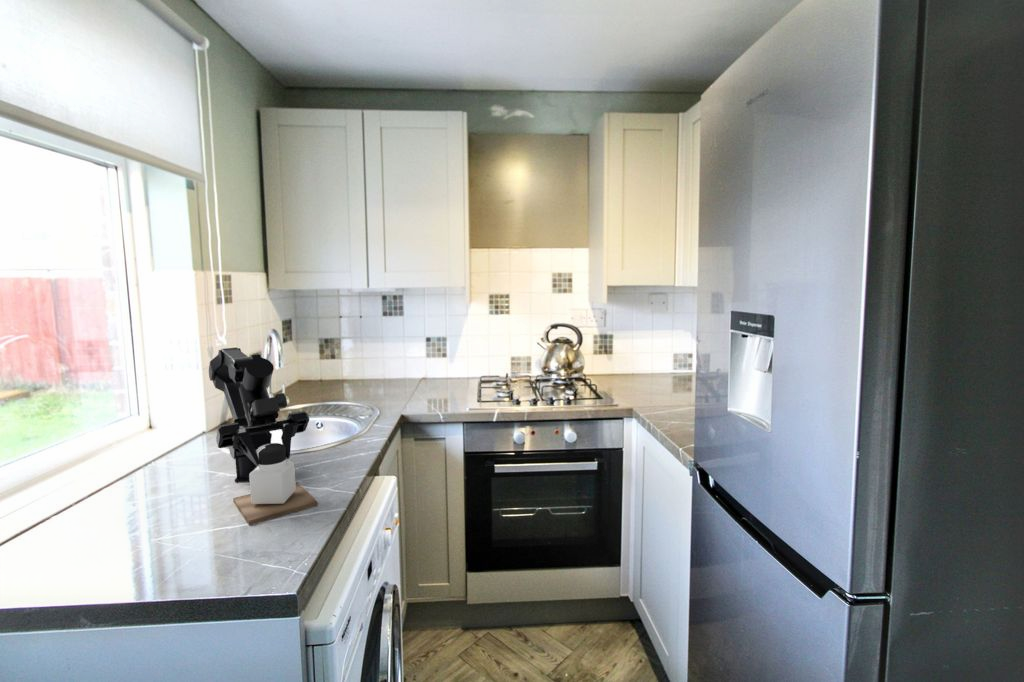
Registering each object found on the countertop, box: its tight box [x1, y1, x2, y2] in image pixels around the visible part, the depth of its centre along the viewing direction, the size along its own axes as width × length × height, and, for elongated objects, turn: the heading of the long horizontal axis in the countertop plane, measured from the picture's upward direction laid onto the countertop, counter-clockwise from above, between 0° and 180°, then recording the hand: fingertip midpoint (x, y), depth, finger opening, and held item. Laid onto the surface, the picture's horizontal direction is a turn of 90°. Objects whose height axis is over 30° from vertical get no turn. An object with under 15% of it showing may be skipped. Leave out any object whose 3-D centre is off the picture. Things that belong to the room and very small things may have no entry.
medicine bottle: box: [249, 442, 296, 504], centre depth 116 cm, size 7×7×12 cm
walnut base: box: [232, 481, 318, 526], centre depth 117 cm, size 14×14×1 cm
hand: (273, 461), depth 114 cm, fingers closed on medicine bottle, 6 cm apart
